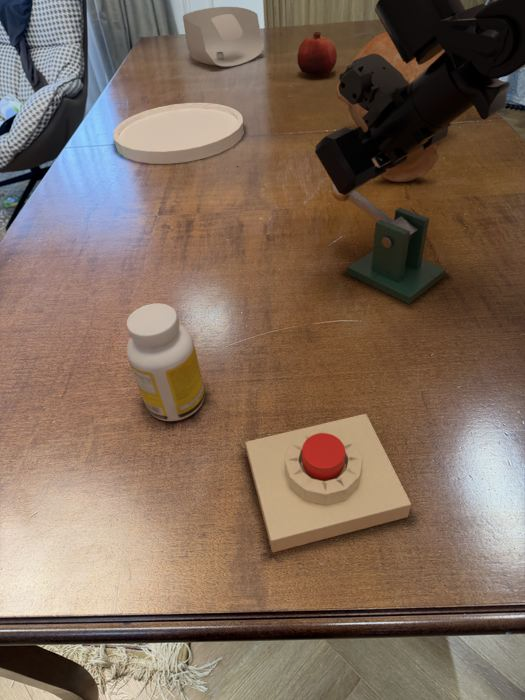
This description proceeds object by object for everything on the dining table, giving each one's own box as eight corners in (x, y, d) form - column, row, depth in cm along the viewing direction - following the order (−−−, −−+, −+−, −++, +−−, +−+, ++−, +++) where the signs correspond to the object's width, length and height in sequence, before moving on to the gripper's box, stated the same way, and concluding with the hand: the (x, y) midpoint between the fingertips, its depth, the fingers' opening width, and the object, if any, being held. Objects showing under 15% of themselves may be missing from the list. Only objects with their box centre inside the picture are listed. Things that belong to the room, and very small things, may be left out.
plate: (214, 168, 97) (212, 156, 95) (90, 158, 104) (87, 146, 103) (261, 116, 115) (260, 105, 114) (153, 111, 123) (151, 100, 121)
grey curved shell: (228, 47, 163) (224, 4, 155) (266, 57, 151) (264, 10, 143) (176, 62, 154) (169, 17, 146) (213, 73, 143) (206, 24, 135)
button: (297, 450, 44) (296, 438, 43) (336, 440, 45) (336, 428, 44) (309, 484, 42) (309, 473, 41) (350, 474, 42) (351, 462, 41)
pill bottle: (214, 383, 56) (197, 301, 48) (193, 429, 51) (170, 346, 43) (160, 374, 57) (135, 293, 49) (135, 418, 53) (104, 337, 45)
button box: (247, 455, 49) (243, 429, 46) (364, 427, 50) (367, 401, 47) (272, 553, 42) (269, 530, 39) (408, 517, 43) (414, 492, 40)
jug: (465, 56, 98) (505, 133, 79) (395, 134, 110) (415, 217, 91) (388, -11, 90) (412, 57, 71) (323, 82, 102) (328, 160, 83)
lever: (323, 195, 68) (329, 176, 65) (339, 187, 69) (345, 167, 67) (397, 254, 64) (406, 235, 61) (411, 243, 65) (422, 225, 62)
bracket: (347, 274, 69) (350, 219, 63) (383, 249, 73) (389, 196, 67) (408, 304, 63) (418, 248, 58) (444, 276, 67) (456, 220, 61)
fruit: (291, 74, 137) (289, 32, 130) (322, 67, 139) (323, 25, 133) (309, 84, 130) (309, 39, 123) (343, 76, 132) (345, 32, 125)
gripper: (443, 12, 55) (357, 99, 69) (331, 53, 47) (258, 143, 60) (493, 102, 56) (398, 170, 70) (391, 158, 48) (306, 223, 61)
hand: (343, 174), depth 65 cm, fingers closed, pressing on lever
